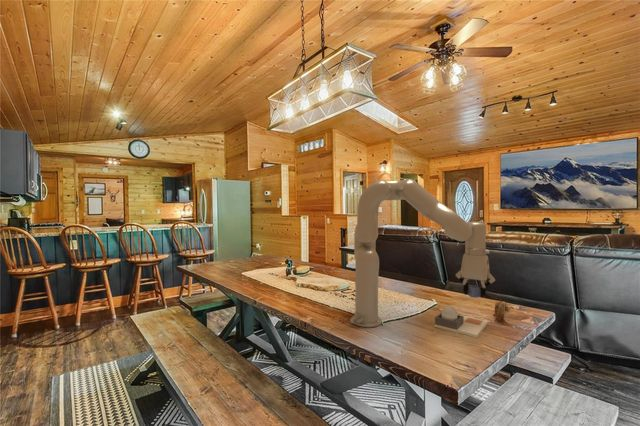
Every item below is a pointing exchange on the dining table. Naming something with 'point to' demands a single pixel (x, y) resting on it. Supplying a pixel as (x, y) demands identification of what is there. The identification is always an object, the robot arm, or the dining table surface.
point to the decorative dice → (474, 291)
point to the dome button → (449, 313)
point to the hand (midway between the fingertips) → (474, 294)
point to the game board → (461, 325)
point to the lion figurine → (500, 310)
